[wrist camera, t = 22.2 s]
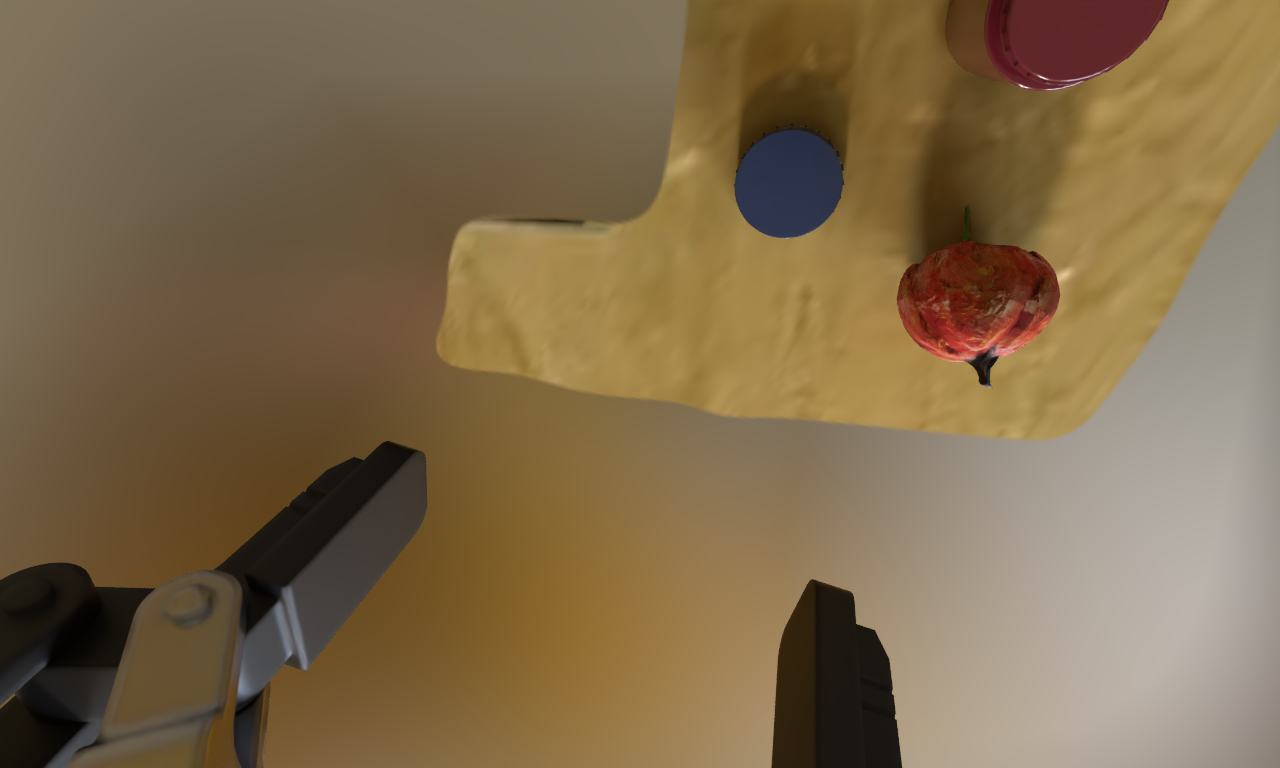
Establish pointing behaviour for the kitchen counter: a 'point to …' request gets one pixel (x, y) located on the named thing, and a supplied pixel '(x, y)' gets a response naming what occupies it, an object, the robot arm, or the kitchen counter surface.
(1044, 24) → the jar
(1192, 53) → the kitchen counter surface
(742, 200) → the lid
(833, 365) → the kitchen counter surface
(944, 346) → the pomegranate
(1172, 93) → the kitchen counter surface
